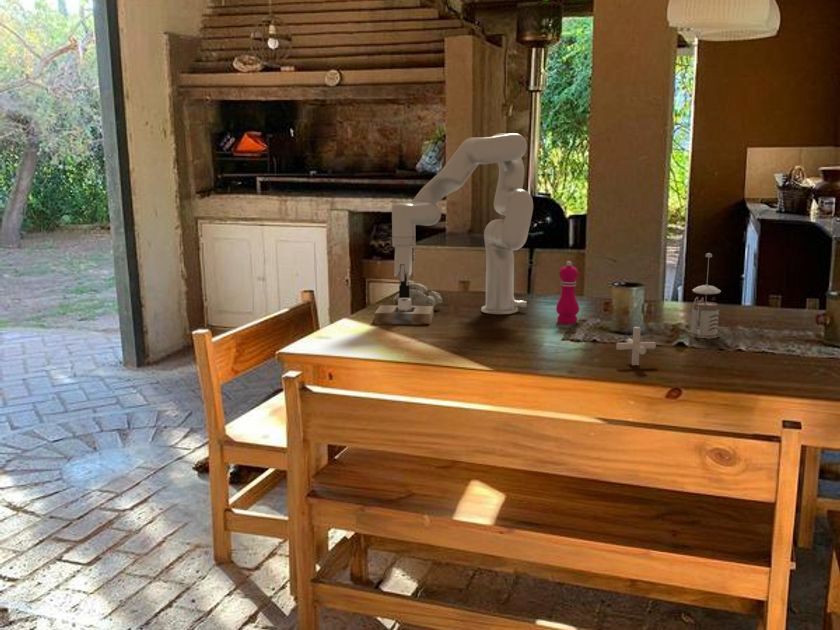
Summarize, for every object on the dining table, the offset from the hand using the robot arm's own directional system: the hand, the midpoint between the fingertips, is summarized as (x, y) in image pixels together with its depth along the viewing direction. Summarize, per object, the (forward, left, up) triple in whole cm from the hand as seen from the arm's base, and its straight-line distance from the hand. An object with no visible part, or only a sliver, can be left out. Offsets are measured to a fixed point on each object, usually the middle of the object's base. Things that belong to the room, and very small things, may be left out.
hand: (404, 297), depth 272 cm
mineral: (-3, -19, -8) cm, 21 cm away
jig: (0, 0, -8) cm, 8 cm away
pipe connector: (-67, +50, -8) cm, 84 cm away
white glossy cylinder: (0, 0, -8) cm, 8 cm away
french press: (-92, +15, -8) cm, 94 cm away
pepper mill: (-53, -1, -8) cm, 54 cm away
